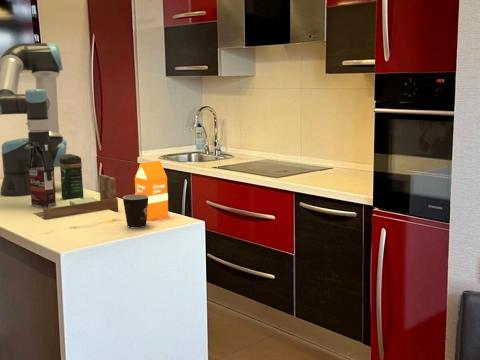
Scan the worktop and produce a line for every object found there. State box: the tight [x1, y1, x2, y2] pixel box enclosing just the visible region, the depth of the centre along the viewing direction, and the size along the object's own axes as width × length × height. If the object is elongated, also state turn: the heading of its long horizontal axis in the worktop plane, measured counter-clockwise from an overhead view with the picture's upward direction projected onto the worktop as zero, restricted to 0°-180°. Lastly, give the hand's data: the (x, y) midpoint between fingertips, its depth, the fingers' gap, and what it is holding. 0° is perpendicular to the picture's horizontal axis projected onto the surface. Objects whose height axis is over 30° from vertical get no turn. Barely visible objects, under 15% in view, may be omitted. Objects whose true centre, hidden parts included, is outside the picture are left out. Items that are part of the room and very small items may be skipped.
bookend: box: [69, 197, 100, 205], centre depth 222 cm, size 8×3×9 cm
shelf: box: [32, 174, 119, 221], centre depth 219 cm, size 12×28×12 cm, turn 128°
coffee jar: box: [59, 153, 84, 201], centre depth 245 cm, size 10×8×19 cm
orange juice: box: [134, 160, 169, 221], centre depth 214 cm, size 8×9×20 cm
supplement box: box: [29, 167, 57, 209], centre depth 226 cm, size 9×5×16 cm, turn 62°
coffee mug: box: [122, 193, 149, 228], centre depth 202 cm, size 12×9×10 cm
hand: (42, 187), depth 226 cm, fingers open, 13 cm apart
